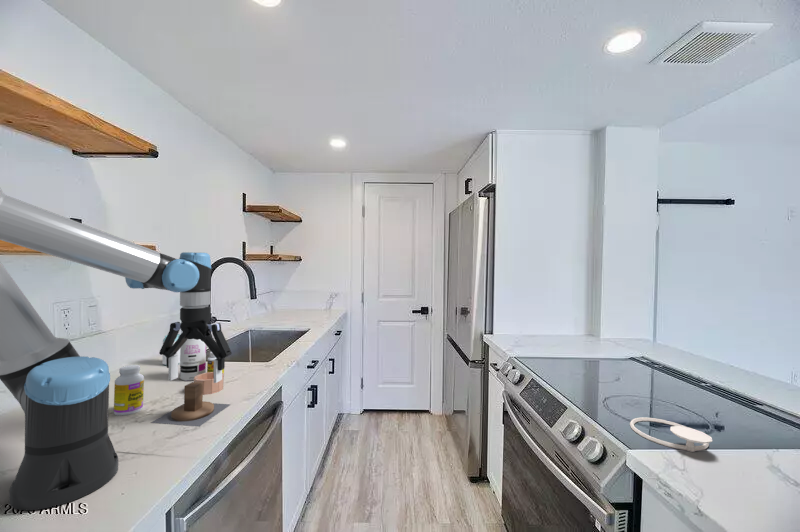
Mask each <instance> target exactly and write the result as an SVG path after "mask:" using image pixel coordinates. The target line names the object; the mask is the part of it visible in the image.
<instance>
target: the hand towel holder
mask: <svg viewBox="0 0 800 532" xmlns="http://www.w3.org/2000/svg"><path fill="white" fill-rule="evenodd" d="M639 422H652V423H653V422H655V423H658V424H665V425H669V426H670V428H669V429H670V432H671V433H672V434H674V435H675V436H677V437H678V438H680V439H681V440H685V443H686V444H685V445H683V444H677V443H673V442H669V441H666V440H663V439H659V438H656V437H653V436H650V435H649V434H646V433H645V432H643V431H641V430H639V429H638V428H637V427H635V424H636V423H639ZM629 426H630V428H631V429H632V431H634V432H635V433H636V434H637V435H638V436H640V437H643V438H644V439H647V440H648V441H651V442H653V443H655V444H657V445H661V446H665V447H668V448H671V449H677V450H681V451H688V452H691V453H695V452H697V451H704V450H706V449H708V447H709V446H710V443H712V442H713V438H712V436H710V435H708V434H706V433H705V432H703V431H701V430H697V429H694V428H692V427H688V426H686V425H682V424H681V423H680V424H679V423H677V422H674V421H668V420H666V419H661V418H654V417H643V416H642V417H636V418H633V419H631V420H630V422H629ZM695 444H701V445H695Z"/></svg>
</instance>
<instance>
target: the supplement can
mask: <svg viewBox="0 0 800 532" xmlns="http://www.w3.org/2000/svg"><path fill="white" fill-rule="evenodd" d="M206 361H207V345H206V344H205V343H204V342H203V341H201V340H200V339H199V340H196V339H187V340H186V342H185V343H184V344H183V345H182V346H181V348H180V364H179V378H180V379H181V380H182V381H185V382H192V381H193V382H194V377H195V376H197V375H199V374H203V373H207V368H206V367H207V362H206Z"/></svg>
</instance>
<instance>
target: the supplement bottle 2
mask: <svg viewBox="0 0 800 532" xmlns="http://www.w3.org/2000/svg"><path fill="white" fill-rule="evenodd" d="M215 359H217V358H216V357H215V356H214V354H213V353H212V352H211V351H210V352H209V356H208V357H207V359H206V361H207V362H206V367H207V368H206V373H208V372H214V360H215ZM222 373H224V374H225V368H224V369H223V370H222Z"/></svg>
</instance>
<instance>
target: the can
mask: <svg viewBox="0 0 800 532" xmlns="http://www.w3.org/2000/svg"><path fill="white" fill-rule="evenodd" d="M167 335H168V334H167ZM167 335H164V338H163V339H162V344H163V343H164V341H165V339H166V337H167ZM180 335H181V333H180V334H179V333H178V335H177V337H176V339H175V341H174V343H175V342H176V341H177V339H178V337H179V336H180ZM174 343H173V344H174ZM172 346H173V345H172ZM175 355H178V365H180V364H179V363H180V349H179V350H178V351H177V354H175ZM175 355H174V356H175ZM161 357H162V359H161V361H162V362H161V363H162V365H165V366H166V356H165V355H162V356H161Z"/></svg>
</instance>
